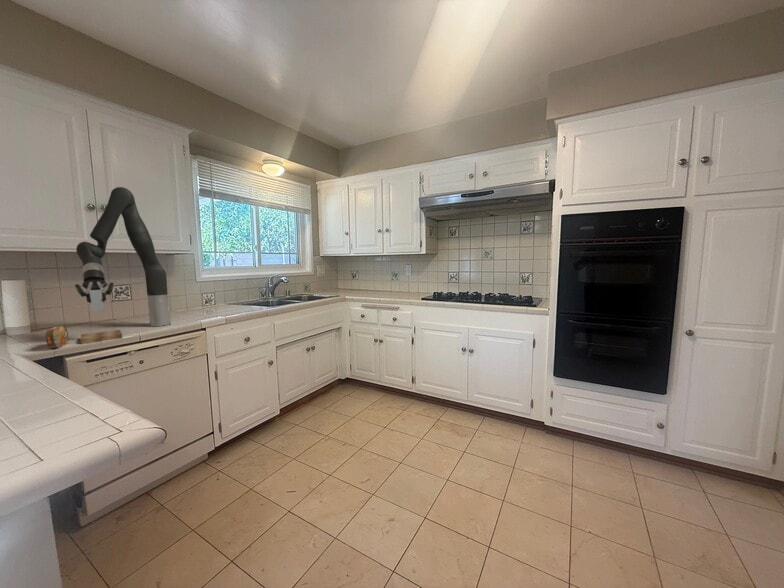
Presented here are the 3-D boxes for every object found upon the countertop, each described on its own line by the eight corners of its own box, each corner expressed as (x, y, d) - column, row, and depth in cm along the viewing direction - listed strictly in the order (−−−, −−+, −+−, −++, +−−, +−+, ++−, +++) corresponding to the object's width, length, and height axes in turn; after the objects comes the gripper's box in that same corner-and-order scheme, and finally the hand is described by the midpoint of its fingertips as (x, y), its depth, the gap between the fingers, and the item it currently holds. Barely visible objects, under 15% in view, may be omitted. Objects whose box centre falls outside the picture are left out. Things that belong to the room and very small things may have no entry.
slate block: (103, 308, 152) (101, 289, 151) (103, 309, 150) (101, 290, 149) (92, 309, 150) (89, 290, 149) (91, 310, 147) (89, 290, 146)
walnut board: (120, 333, 161) (119, 329, 160) (122, 338, 150) (122, 334, 150) (81, 338, 151) (81, 334, 151) (81, 343, 141) (80, 339, 141)
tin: (56, 350, 132) (53, 329, 131) (45, 351, 130) (42, 330, 130) (70, 342, 145) (67, 323, 144) (60, 343, 143) (58, 324, 143)
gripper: (72, 269, 148) (74, 297, 141) (112, 268, 158) (116, 294, 150) (74, 280, 153) (76, 308, 145) (113, 278, 162) (117, 304, 155)
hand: (96, 301), depth 148 cm, fingers closed on slate block, 4 cm apart
